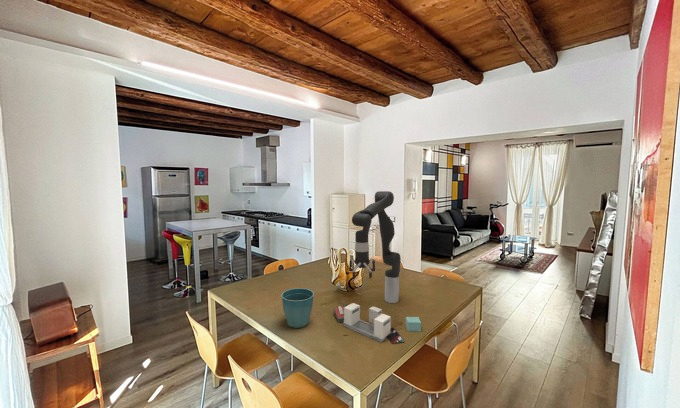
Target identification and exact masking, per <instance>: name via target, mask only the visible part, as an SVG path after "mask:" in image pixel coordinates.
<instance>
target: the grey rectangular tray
mask: <svg viewBox="0 0 680 408" xmlns="http://www.w3.org/2000/svg"><path fill="white" fill-rule="evenodd" d="M342 327H344V328H347V329H348V330H349V329H350V330H351V331H354V332H356V333H358V334H360V335H363V336H365V337H368V338H370V339H371V340H374V341H376V342H379V343H383V342H384V341H385V340H386V339H388V338H387V337H388V336H389V335H391V332H390V334H389V335H387V336H386V337H385V338H384V339H381V338H379V337H377V336H374V324H372V323H370V322H369V321H368V322H367V321H365V320H363V319H360V320H359V321H358V322H357V323H355V324H354V325H349V324H346V323H344V322H342Z"/></svg>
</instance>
